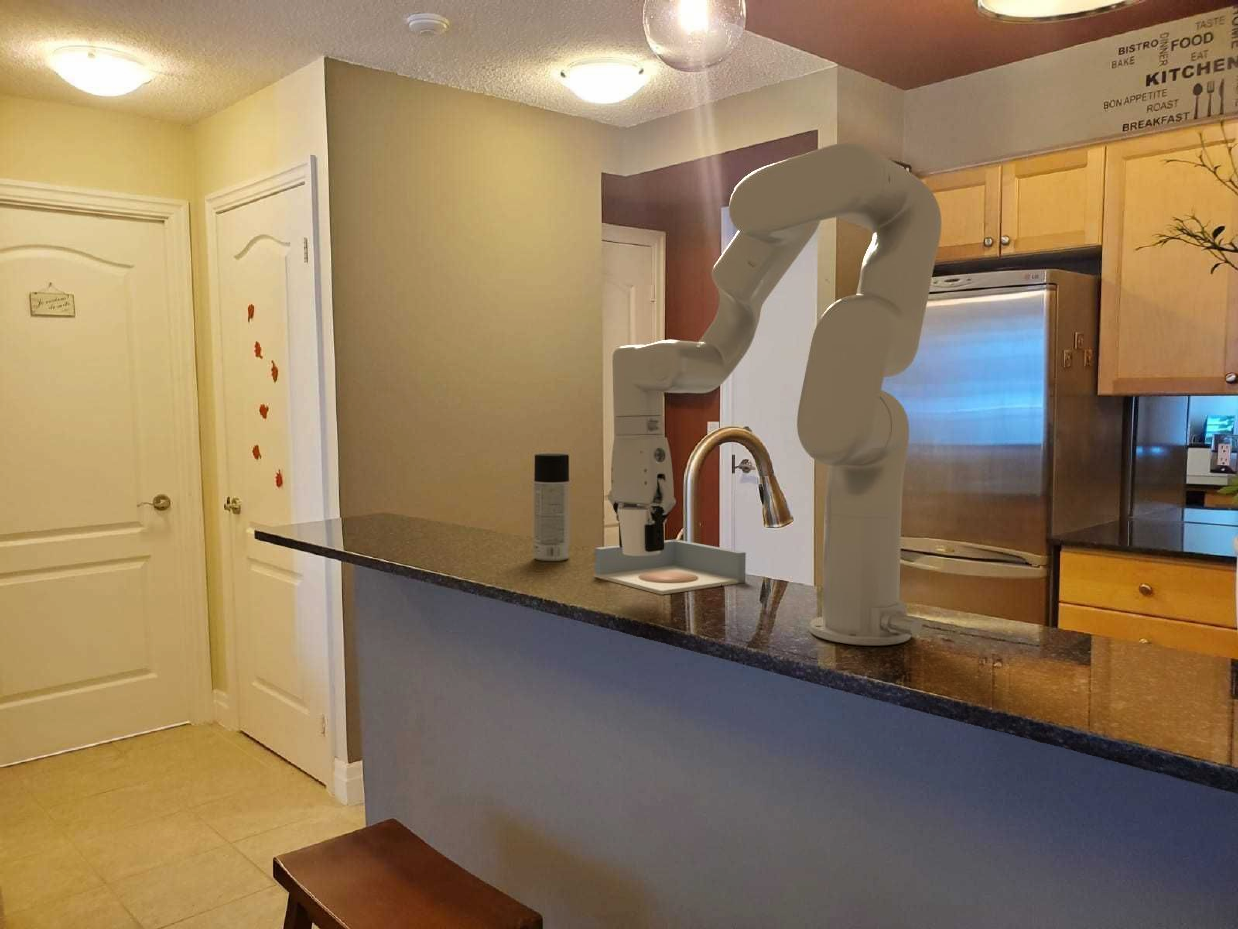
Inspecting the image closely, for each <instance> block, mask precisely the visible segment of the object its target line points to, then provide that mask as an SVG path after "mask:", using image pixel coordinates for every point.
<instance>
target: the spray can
mask: <svg viewBox="0 0 1238 929" xmlns="http://www.w3.org/2000/svg"><path fill="white" fill-rule="evenodd" d="M533 478H534V480H533V482H534V483H533V484H534V485H533V487H534V488H533V492H534V494H533V495H534V497H533V498H534V499H533V500H534V502H533V508H534V510H533V511H534V514H533V520H534V521H533V523H534V527H533V528H534V529H533V531H534V534H533V535H534V538H533V540H534V543H533V544H534V545H533V548H534V549H533V551H534V552H533V554H534V555H533V556H534V559H535V560H536V561H541V562H560V561H561V562H563V561H565V560H568V559H569V556H570V456H569V454H567V453H537V454H535V455H534V477H533Z"/></svg>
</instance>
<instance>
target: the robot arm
mask: <svg viewBox="0 0 1238 929" xmlns="http://www.w3.org/2000/svg"><path fill="white" fill-rule="evenodd" d="M728 212H729V215H728V216H729V218H730V221H731V223H732V224H733V226H734V228H736V229H737V230H738V231H737V232H736V234H735V235H734V237H733V238H732V239H731V241H730V243H729V244H728V245H727V246H726V248H725V250H724V251H723V253H722V254H721V256H720V257H719V258H718V260H717V261H716V262H715V264H714V265H713V267H712V268H711V279H712V282H713V283H714V285H715V287H716V288H717V291H718V294H719V304H718V309H717V311H716V314H715V317H714V319H713V321H712V322H711V324H710V325H709V327H708V328H707V329H706V330H705V332H704V334H703V335H702V336H701V338H700V339H699V340H698V341H690V340H677V339H666V340H661V341H656V342H654V343H648V344H646V345H645V344H634V345H633V344H632V345H623V346H620V347H618V348H616V349H615V350H614V351H613V354H612V362H611V363H612V364H611V365H612V399H613V400H612V402H613V403H612V404H613V405H612V406H613V410H612V411H613V442H612V443H613V444H612V451H611V452H612V453H611V464H610V465H611V466H610V487H611V489H610V491H609V493H608V494H607V499H608V501H609V503H610V504H611V506H612V509H613V510H614V513H615V514H616V515H615V518H616V521H617V522H618V545H619V546H620V547H621V548H622V541H621V532H620V523H619V514H618V508H620V507H624V506H625V507H626V506H636V505H643V506H644V509H646V518H647V522H648V525H645V550H646V551H647V552H653V551H661V550H664V541H665V524H666V523H667V518H668V516H669V515H670V512H671V511H672V510H673V508H674V506H675V505H676V502H677V500H676V497H675V496H674V494H675V493H674V488H675V487H674V478H673V477H674V473H673V465H672V457H671V456H672V455H671V451H670V445H669V442H668V441H669V440H668V437H665V421H664V419H665V418H664V416H665V415H664V411H665V410H664V393H667V394H668V393H669V394H671V393H672V394H685V393H687V394H707V393H711V392H712V391H714V390H716V389H717V388H718V387H720V386H722V384H723V383H724V382H726V380H727V379H728V378H729V377H730V375H731V374H732V373H733V372H734V370H735V369H736V368H737V367H738V365H739V363H740V362H741V361H742V359H744V357H745V355H747V352H748V351H749V349H750V347H751V346H752V343H753V340H754V338H755V335H756V332H757V329H758V326H759V322H760V318H761V312H762V308H763V305H764V303H765V302H766V301H767V298H768V297H769V296H770V294H771V293H772V292H773V290H774V289H775V288H776V287H777V285H778V284H779V282H780V281H781V279H782V278H783V277H784V275H785V274H786V273H787V271H788V270H789V269H790V267H791V266H792V265H793V263H794V261H795V260H796V259H797V258H798V256H799V255H800V254H801V253H802V251H803V250H804V248H805V247H806V245H807V244H808V243H809V241H810V240H811V238H812V237H813V236H814V234H815V233H816V232H817V229H818V227H819V225H820V223H821V222H822V221H825V220H830V219H833V218H834V219H835V218H837V219H840V220H843V221H846V222H848V223H850V224H851V223H852V224H854V225H857V226H860V227H862V228H865V229H866V230H868V231H870V232H871V234H872V240H871V242H870V244H869V246H868V249H867V250H866V253H865V254H864V257H863V261H862V263H861V268H860V274H859V280H858V285H857V289H856V294H852V295H847V296H844V297H842V298H840V299H838V300H836V301H835V302H833V303H832V304H831V305H830V306H829V307H828V308H827V309H826V310H825V311H824V312H823V313H822V315H821V317H820V318H819V320H818V322H817V324H816V326H815V329H814V332H813V334H812V338H811V342H810V348H809V351H808V356H807V357H808V358H807V362H806V366H805V368H806V369H805V371H804V372H805V373H804V378H803V383H802V388H801V393H800V398H799V404H798V410H797V419H796V428H797V429H796V430H797V435H798V439H799V442H800V443H801V444H800V445H801V446H802V448H803V449H804V451H805V453H807V454H808V456H809V457H811V458H812V459H813V460H815V461H817V462H818V463H821V464H824V465H827V466H829V468H828V471H827V472H828V473H827V478H826V484H825V492H824V513H823V515H824V516H823V552H822V553H823V554H822V555H823V559H822V560H823V561H822V563H823V564H822V567H823V568H822V598H821V599H822V600H821V601H822V604H821V605H822V607H821V612H822V613H821V616H818V617H816V618H813V619H812V620H810V622H809V632H810V633H811V634H813V635H814V636H815V637H818V638H820V639H822V640H825V641H830V642H835V643H841V644H847V645H853V646H854V645H855V646H873V647H874V646H890V645H891V646H892V645H898V644H901V643H905V642H908V641H909V640H911V638H912V636H917V635H919V633H920V631H921V628H922V627H923V626H924V618H922V617H919V616H914V615H908V613H907V603H906V602H901V601H900V586H901V585H900V584H901V583H900V582H901V581H900V580H901V579H900V578H901V575H900V573H901V549H902V548H901V545H902V543H901V542H902V538H901V537H902V514H903V510H902V509H903V487H904V475H905V468H906V467H905V466H906V461H907V454H908V447H909V443H910V442H909V441H910V425H909V422H910V421H909V418H908V415H907V412H906V410H905V408H904V407H903V405H902V403H901V402H900V401H899V400H898V399H897V398H896V397H895V396H894V395H893V394H890V393H889V392H887V391H886V390H883V389H882V387H883V383H884V378H888V377H894V376H897V375H899V374H901V373H902V372H904V371H906V370H907V369H908V368H909V367H910V366H911V364H912V363H913V361H914V359H915V358H916V355H917V352H918V349H919V345H920V344H919V343H920V338H921V335H922V334H921V333H922V330H923V323H924V318H925V314H926V311H927V310H926V309H927V304H928V300H929V295H930V289H931V283H932V278H933V272H934V269H935V268H934V267H935V262H936V259H937V254H938V250H939V245H940V239H941V234H942V213H941V208H940V205H939V203H938V201H937V198H936V196H935V194H934V192H933V191H932V190H931V189H930V188H929V186H928V185H927V184H926V183H925V182H924V181H922V180H921V179H920V178H919V177H918V176H916V175H915V174H913V173H912V172H910V171H909V170H908V169H906V168H904V167H903V166H901V165H900V164H898V163H896V162H895V161H893V160H891V159H890V158H887V157H886V156H883V155H881V154H880V153H879V152H876V151H875V150H874V149H871V148H870V147H869V146H868V147H867V146H866V145H863V144H860V143H856V142H841V143H840V142H839V143H834V144H831V145H827V146H824V147H821V148H818V149H815V150H811V151H808V152H806V153H802V154H799V155H797V156H793V157H789V158H787V159H784V160H781V161H777V162H774V163H771V164H768V165H766V166H763V167H760V168H758V169H756V170H754V171H752V172H750V173H748V175H746V176H745V177H744V178H742V180H741V181H739V182H738V184H737V185H736V186H735V187H734V190H733V192H732V194H731V196H730V200H729V205H728ZM652 508H657V509H656V510H655V512H654V514H653V510H652Z"/></svg>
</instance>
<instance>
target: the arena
mask: <svg viewBox="0 0 1238 929" xmlns="http://www.w3.org/2000/svg"><path fill="white" fill-rule="evenodd" d="M746 558H747V553H746V551H740V550H735V549H729V548H723V547H718V546H713V545H708V544H703V543H702V544H701V543H697V542H692V541H686V540H681V539H668V540H664V550H661V551H660V553H659V554H656V555H649V556H631V555H624V554H623V550H622V548H621V547H620V546H619V544H618V545H611V546H600V547H594V577H595V578H597V579H602V580H605V581H608V582H612V583H617V584H620V585H624V586H628V587H631V588H635V589H639V590H643V591H646V592H649V593H650V592H651V593H654V594H658V595H662V596H664V595H667V594H669V595H670V594H677V593H682V592H689V591H697V590H701V589H702V590H703V589H710V588H716V587H721V585H722V587H723V586H729V585H734V584H735V585H736V584H742V583H746V563H747V562H746V560H747V559H746Z"/></svg>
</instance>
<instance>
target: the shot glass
mask: <svg viewBox="0 0 1238 929" xmlns="http://www.w3.org/2000/svg"><path fill="white" fill-rule="evenodd" d="M656 509H657V508H652V510H653V514H654V512H655V510H656ZM618 514H619V521H618V524H619V523H620V532H621V541H622V550H623V554H624V555H631V556H649V555H656V554H659V553H660V551H653V552H647V551H646V550H645V525H648V522H647V518H646V509H644V506H643V505H636V506H626V507H625V506H624V507H620V508H618Z"/></svg>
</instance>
